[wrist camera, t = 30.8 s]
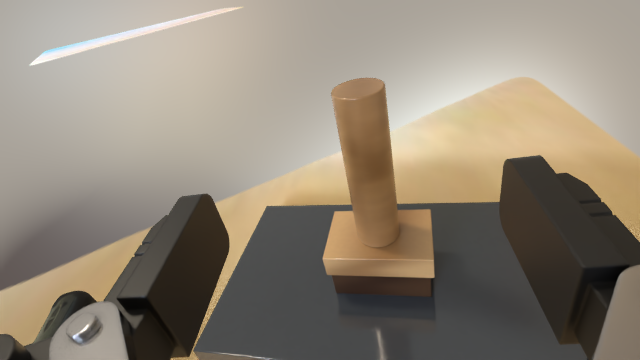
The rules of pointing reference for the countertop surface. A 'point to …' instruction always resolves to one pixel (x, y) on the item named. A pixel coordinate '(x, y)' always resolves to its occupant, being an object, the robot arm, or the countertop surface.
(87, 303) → the dark green rounded bar
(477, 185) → the countertop surface
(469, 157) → the countertop surface
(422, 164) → the countertop surface
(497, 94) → the countertop surface
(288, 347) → the slate board
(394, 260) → the brush
